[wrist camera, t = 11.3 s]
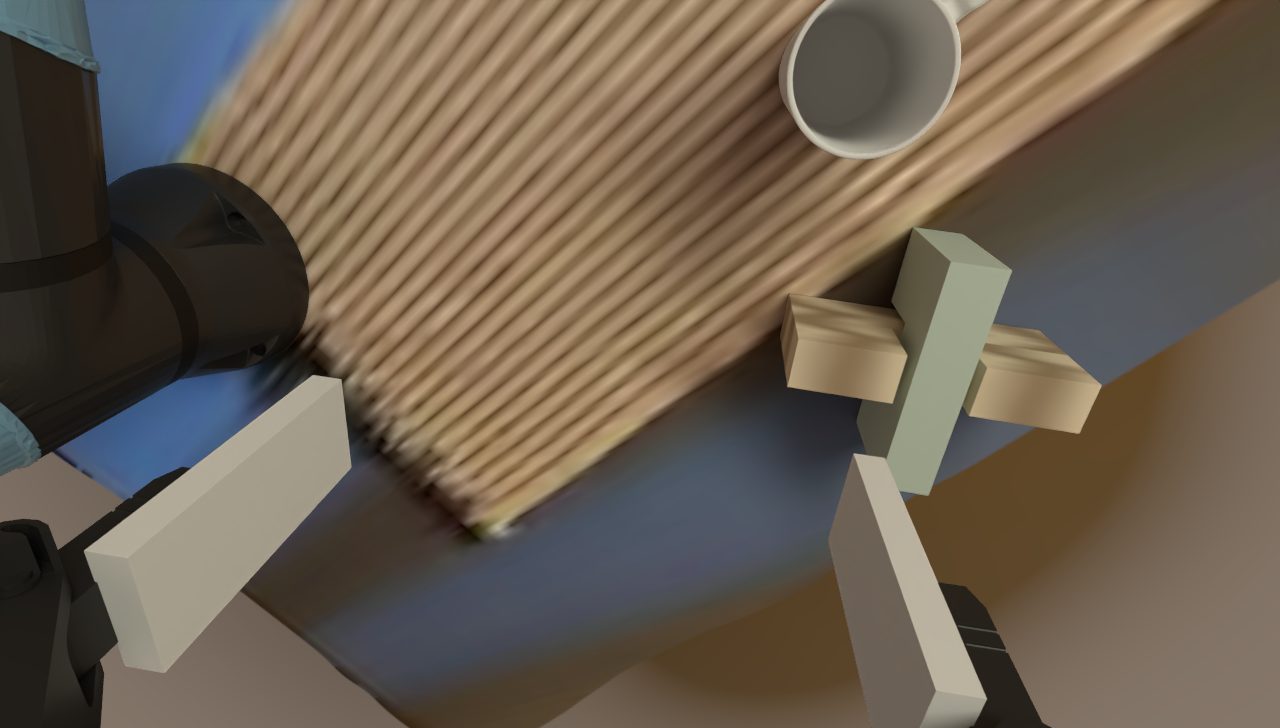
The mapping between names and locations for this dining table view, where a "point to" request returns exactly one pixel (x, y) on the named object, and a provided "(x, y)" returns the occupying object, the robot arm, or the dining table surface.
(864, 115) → the mug
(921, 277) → the grey-green block
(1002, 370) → the u-shaped wooden block
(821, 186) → the dining table surface
